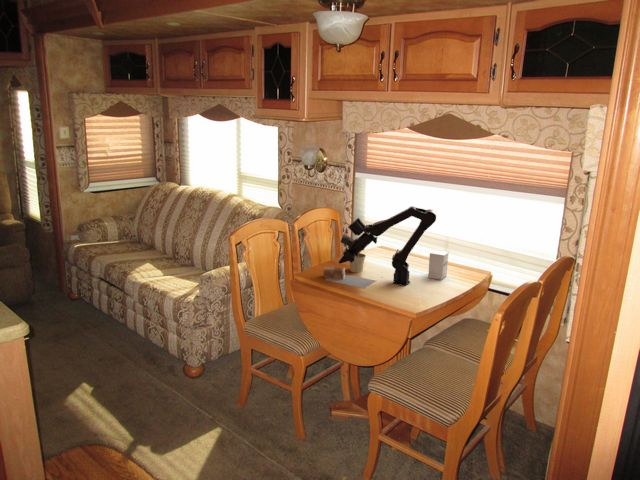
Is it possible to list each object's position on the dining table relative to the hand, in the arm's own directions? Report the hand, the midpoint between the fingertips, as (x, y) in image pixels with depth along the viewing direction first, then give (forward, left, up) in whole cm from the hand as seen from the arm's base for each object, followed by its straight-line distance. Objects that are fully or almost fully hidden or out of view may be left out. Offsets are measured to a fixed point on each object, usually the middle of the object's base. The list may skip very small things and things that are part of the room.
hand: (339, 262), depth 253 cm
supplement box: (-40, -30, -8) cm, 50 cm away
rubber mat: (-7, 0, -8) cm, 10 cm away
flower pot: (-2, -15, -8) cm, 17 cm away
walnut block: (-3, -1, -5) cm, 6 cm away
